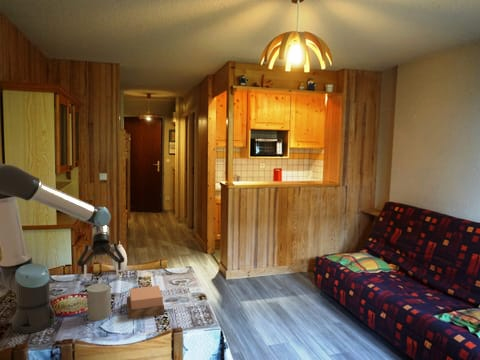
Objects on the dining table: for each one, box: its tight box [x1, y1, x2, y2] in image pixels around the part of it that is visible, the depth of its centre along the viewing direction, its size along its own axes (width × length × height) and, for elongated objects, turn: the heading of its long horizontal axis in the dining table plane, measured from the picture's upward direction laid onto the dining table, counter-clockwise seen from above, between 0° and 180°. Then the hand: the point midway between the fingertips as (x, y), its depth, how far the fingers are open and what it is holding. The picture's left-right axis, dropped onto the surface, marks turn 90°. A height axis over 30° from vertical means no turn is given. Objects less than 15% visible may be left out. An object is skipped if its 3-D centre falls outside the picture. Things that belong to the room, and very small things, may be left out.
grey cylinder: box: [86, 282, 112, 321], centre depth 157 cm, size 10×10×12 cm
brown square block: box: [129, 285, 164, 310], centre depth 164 cm, size 13×13×4 cm
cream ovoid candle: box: [112, 240, 128, 273], centre depth 209 cm, size 8×8×18 cm
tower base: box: [125, 295, 165, 320], centre depth 165 cm, size 15×15×4 cm
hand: (101, 278), depth 165 cm, fingers open, 13 cm apart
